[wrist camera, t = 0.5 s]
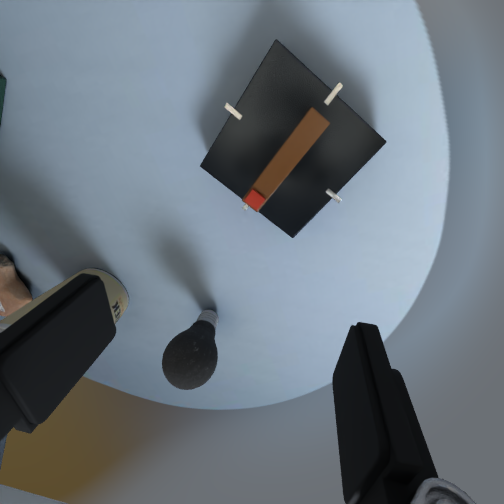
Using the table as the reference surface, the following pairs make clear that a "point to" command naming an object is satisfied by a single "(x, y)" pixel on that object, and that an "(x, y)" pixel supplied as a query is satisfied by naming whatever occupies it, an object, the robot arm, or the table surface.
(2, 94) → the button box
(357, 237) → the table surface
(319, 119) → the wooden rectangular beam
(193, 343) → the light bulb
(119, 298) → the coffee cup
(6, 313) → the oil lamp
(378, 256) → the table surface
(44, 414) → the robot arm
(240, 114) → the clamp block
